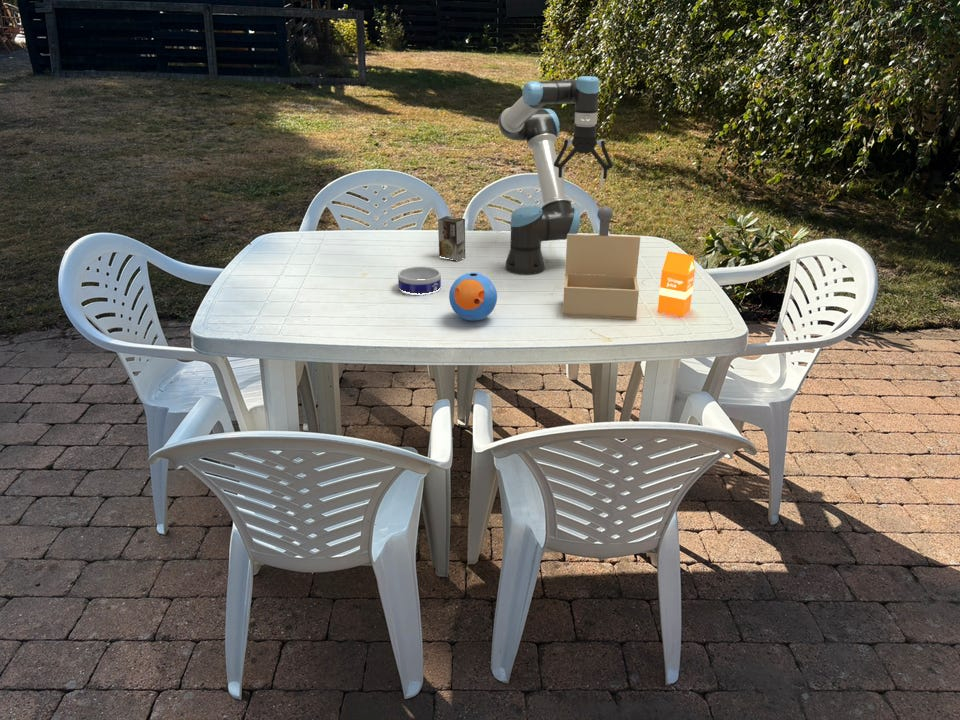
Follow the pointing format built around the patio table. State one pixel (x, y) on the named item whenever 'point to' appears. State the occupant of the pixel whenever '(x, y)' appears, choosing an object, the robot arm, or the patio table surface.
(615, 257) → the carton lid
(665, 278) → the orange juice
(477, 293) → the treat dispenser ball
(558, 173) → the robot arm
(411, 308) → the patio table surface
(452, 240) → the coffee box
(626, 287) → the carton
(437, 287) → the dog bowl
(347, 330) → the patio table surface
